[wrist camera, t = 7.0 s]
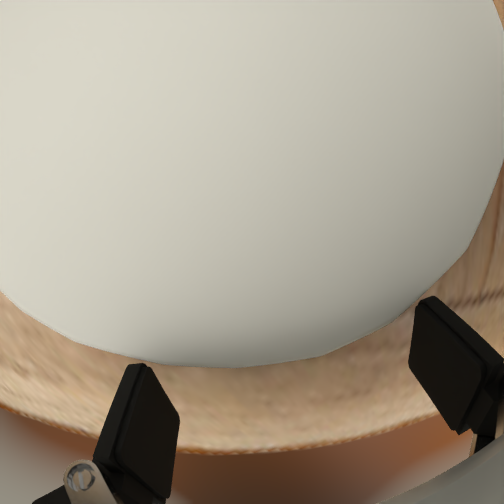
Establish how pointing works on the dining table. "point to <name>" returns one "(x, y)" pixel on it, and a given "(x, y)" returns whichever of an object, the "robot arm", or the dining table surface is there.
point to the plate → (241, 168)
